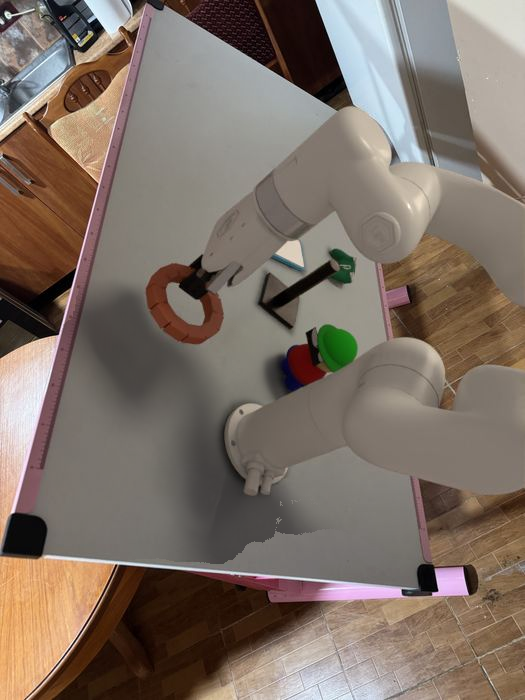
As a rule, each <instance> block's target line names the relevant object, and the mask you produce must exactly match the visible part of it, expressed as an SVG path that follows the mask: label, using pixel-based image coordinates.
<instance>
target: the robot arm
mask: <svg viewBox="0 0 525 700" xmlns="http://www.w3.org/2000/svg"><path fill="white" fill-rule="evenodd" d="M391 162H392V147H391V144H390V142H389V140H388V138H387V136H386V134H385V133H384V130H383V129H382V128H381V125H380V124H378V122H377V121H376V120H375V119H374V118H373V116H371V115H370V114H369V113H368V112H366V111H365V110H364V109H362V108H360V107H357V106H354V105H352V106H351V105H350V106H345V107H342V108H339V110H337V111H336V112H335V113H334V114H332V116H330V117H329V118H328V119H327V120H326V121H324V122H323V123H322V124H321V125H320V126H319V127H318V128H317V129H316V130H315V131H314V132H312V133H311V135H309V136H308V137H307V138H306V139H305V140H304V141H302V142H301V144H300V145H299V146H298V147H296V148H295V149H294V150H293V151H292V152H291V153H290V154H289V155H288V156H286V158H284V159H283V160H282V161H281V162H280V163H279V164H278V165H277V166H276V167H275V168H273V169H272V171H270V172H269V173H268V174H267V175H266V176H264V178H263V179H261V180H260V181H259V182H258V183H257V184H256V185H255V186H254V188H253V189H252V191H251V192H250V193H248V194H247V195H246V196H245V197H244V196H243V198H242V199H241V200H239V201H238V202H237V203H236V204H234V205H233V206H232V207H231V208H230V209H228V210H227V211H226V212H225V213H223V214H222V215H221V216H220V217H219V218H218V219H217V220H216V223H215V224H214V226H213V228H212V231H211V233H210V236H209V239H208V241H207V244H206V246H205V249H204V252H203V253H201V254H200V255H199V256H198V257H197V258H196V259H195V260H193V261H192V262H191V263H190V264H189V265H188V266H190V267H191V269H192V268H194V269H195V270H194V271H193V272H192V273H191V274H190V275H188V276H187V277H186V278H185V279H184V280H183V281H181V282H180V284H179V283H178V288H179V289H180V290H181V291H183V292H184V293H185V294H187V295H188V296H189V297H191V298H192V299H194V300H195V301H200V300H199V299H200V298H201V297H203V296H204V295H205V294H206V293H208V292H210V293H211V294H213V295H215V294H216V293H218V292H219V291H220V290H221V289H222V288H223V287H224V285H226V287H227V288H233V287H236V286H238V285H239V284H241V283H242V282H244V281H245V280H246V279H248V278H249V277H250V276H251V275H252V274H253V273H255V272H256V271H257V270H259V268H261V267H262V266H263V265H264V264H265V263H267V262H268V261H269V260H270V259H271V258H272V256H273V255H274V254H275V253H276V252H277V251H278V250H279V249H280V248H281V247H282V246H283V245H284V244H285V243H286V242H287V241H295V240H298V239H299V240H300V238H302V237H303V236H304V235H305V234H307V233H308V232H310V231H311V230H312V229H314V228H315V227H316V226H317V225H319V224H320V223H321V222H323V221H324V220H325V219H326V218H328V217H329V216H330V215H331V214H333V213H334V212H335V213H336V215H337V217H338V219H339V221H340V223H341V225H342V228H344V230H345V233H346V235H347V236H348V238H349V240H350V243H352V245H353V246H354V248H355V249H356V250H357V251H358V252H359V253H360V254H361V255H362V256H363V257H364V258H366V259H367V260H369V261H371V262H373V263H377V264H380V265H381V264H382V265H389V264H394V263H398V262H401V261H403V260H404V259H405V258H407V257H408V256H410V254H411V253H412V252H413V251H414V250H415V249H416V248H417V246H418V245H419V243H420V241H421V240H422V237H423V235H424V234H426V235H430V236H432V237H435V238H438V239H441V240H443V241H446V242H448V243H451V244H452V245H455V246H456V247H458V248H460V249H462V250H463V251H465V252H466V253H468V254H469V255H470V256H472V257H473V258H474V259H475V260H476V261H477V262H478V263H479V264H480V266H482V267H483V268H484V270H485V272H486V273H487V274H488V275H489V277H490V279H491V280H492V282H493V283H494V285H495V286H496V287H497V289H498V290H499V291H500V292H501V293H502V295H504V297H506V299H507V300H508V301H510V302H511V303H513V304H515V305H517V306H520V307H522V308H525V203H523V202H521V201H519V200H518V199H516V198H514V197H512V196H510V195H508V194H507V193H505V192H503V191H501V190H499V189H498V188H496V187H494V186H492V185H490V184H487V183H485V182H483V181H481V180H478V179H475V178H474V177H473V178H472V177H469V176H466V175H464V174H461V173H457V172H455V171H451V170H448V169H445V168H443V167H438V166H435V165H432V164H428V163H423V162H419V161H402V162H396V163H393V164H392V165H391ZM445 384H446V370H445V365H444V361H443V360H442V357H441V356H440V354H439V353H438V352H437V350H436V349H435V348H434V347H433V346H432V345H431V344H429V343H427V342H425V341H423V340H422V339H418V338H414V337H410V336H409V337H407V336H404V337H403V336H402V337H395V338H390V339H388V340H385V341H383V342H381V343H379V344H377V345H375V346H373V347H372V348H370V349H369V350H367V351H365V352H364V353H362V354H361V355H360V356H358V357H357V358H355V359H354V360H353V361H352V362H351V363H349V364H348V365H346V366H344V367H343V368H341V369H339V370H337V371H336V372H334V373H333V372H331V373H330V374H328V375H325V376H324V377H323V378H322V379H320V380H317V381H315V382H313V383H311V384H309V385H307V386H304V387H301V388H299V389H297V390H295V391H291V392H290V393H287V394H286V395H284V396H281V397H280V398H277V399H276V400H273V401H271V402H269V403H267V404H265V405H262V404H261V405H260V404H258V403H252V402H251V403H244V404H241V405H240V406H238V407H236V408H235V409H234V410H233V411H232V412H231V413H230V414H229V416H228V417H227V420H226V422H225V426H224V436H223V437H224V444H225V450H226V453H227V456H228V458H229V460H230V464H231V465H232V466H233V468H234V469H235V470H236V471H237V472H238V474H239V475H240V476H241V477H242V478H243V479H245V483H244V487H243V493H244V494H246V495H247V496H253V497H254V496H257V495H258V491H259V487H260V491H259V492H260V494H263V495H266V496H267V495H270V494H271V489H272V485H274V484H277V483H279V481H281V480H282V479H283V478H284V477H285V476H286V474H287V472H288V470H289V467H294V466H295V465H298V464H301V463H303V462H306V461H309V460H311V459H314V458H317V457H320V456H322V455H325V454H328V453H332V452H334V451H336V450H339V449H342V448H345V447H348V448H349V449H350V450H351V451H352V452H353V453H354V454H355V455H356V456H358V457H359V458H360V459H362V460H363V461H365V462H367V463H369V464H370V465H373V466H375V467H378V468H381V469H383V470H387V471H390V472H394V473H396V474H397V473H398V474H400V475H404V476H408V477H412V478H416V479H419V480H423V481H425V482H430V483H434V484H436V485H441V486H444V487H448V488H451V489H455V490H460V491H464V492H467V493H471V494H475V495H482V496H483V495H484V496H486V495H487V496H497V495H506V494H511V493H514V492H517V491H520V490H522V489H524V488H525V369H521V368H518V367H517V368H515V367H511V366H506V365H500V364H499V365H498V364H482V365H478V366H474V367H473V368H471V369H469V370H467V372H466V373H465V374H464V375H463V376H462V378H461V379H460V381H459V382H458V386H457V388H456V392H455V394H454V397H453V402H452V405H451V408H450V409H451V410H450V409H445V408H440V405H441V403H442V397H443V394H444V391H445V386H446V385H445Z"/></svg>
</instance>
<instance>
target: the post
mask: <svg viewBox="0 0 525 700" xmlns="http://www.w3.org/2000/svg"><path fill="white" fill-rule="evenodd" d="M338 263H339V262H338V261H337V260H336V259H335V258H331V259H329V260H328V261H326V262H325V263H323V264H321V265H320V266H318V267H316V268H315V269H314V270H312V271H311V272H309V273H308V274H307V275H304V276H303V277H301V278H300V279H298V280H297V281H295V282H294V283H293V284H291V285H290V286H287V285H286V284H285V283H283V282H282V281H281V280H280V279H279V278H277V277H276V276H275V274H273V273H271V272H268V273H266V275H265V278H264V282H263V287H262V290H261V294H260V297H259V302H258V305H259V306H260V307H261V308H263V309H264V310H265V311H267V312H268V313H269V314H270V315H271V316H273V318H275V319H276V320H277V321H279V322H280V323H281V324H283V325H284V326H285V327H286V328H288V329H289V330H292V329H293V328H294V327H295V323H296V318H297V313H298V308H299V304H300V303H299V302H300V298H301V296H302V295H304V294H305V293H307V292H308V291H310V290H312V289H313V288H315V287H316V286H318V285H320V284H321V283H322V282H324V281H326V280H327V279H329V278H330V276H332V275H334V274H335V273H337V272H338V271H339V270H340V267H339V265H338Z"/></svg>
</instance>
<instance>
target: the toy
mask: <svg viewBox="0 0 525 700" xmlns="http://www.w3.org/2000/svg"><path fill="white" fill-rule="evenodd" d="M305 337H306V341H307V342H306V343H301V344H294V345H291V346H290V347H288V349H287V351H286V355H285V358H284V359H281V361H280V369H281V372H282V373H283V375H284V378H283V383H284V386H285V388H286V389H287V390H288V391H290V392H294V391H296V390H298V389H300V388H302V387H304V386H307V385H309V384H311V383H313V382H315V381H317V380H320V379H322V378H324V377H326V376H327V374H328V373H334V372H336V371H337V370H339V369H341V368H343V367H344V366H346V365H348V364H349V363H351V362H352V361H354V360H355V359H356V357H357V355H358V351H359V350H358V349H359V348H358V342H357V340H356V338H355V337H354V336H353V334H352V333H351V332H349V331H348V330H345V329H342V328H338V327H336V326H334V325H332V324H330V323H329V324H327V323H326V324H324V325H321V326H320V328H319V329H318V330H317V326H315V327H312V328H310V329H309V330H308V331H306V332H305Z"/></svg>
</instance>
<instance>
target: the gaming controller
mask: <svg viewBox="0 0 525 700" xmlns="http://www.w3.org/2000/svg"><path fill="white" fill-rule="evenodd" d="M330 255H331V256H332V258H333V259H334V260H335V261H336V262H337V263H338V265H339V267H340V270H339V271H338V272H337V273H335V274H334V275H332V276H330V277H329V278H330V279H331V280H333V281H335V282H337V283H340V284H343V285H346V284H352V283H353V282H354V279H355V273H356V267H357V265H358V264H357V263H358V258H357V257H354V256H351V255H349V254H347V253H346V252H345V251H343V250H342V249H341V248H333V249H331V250H330Z"/></svg>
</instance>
